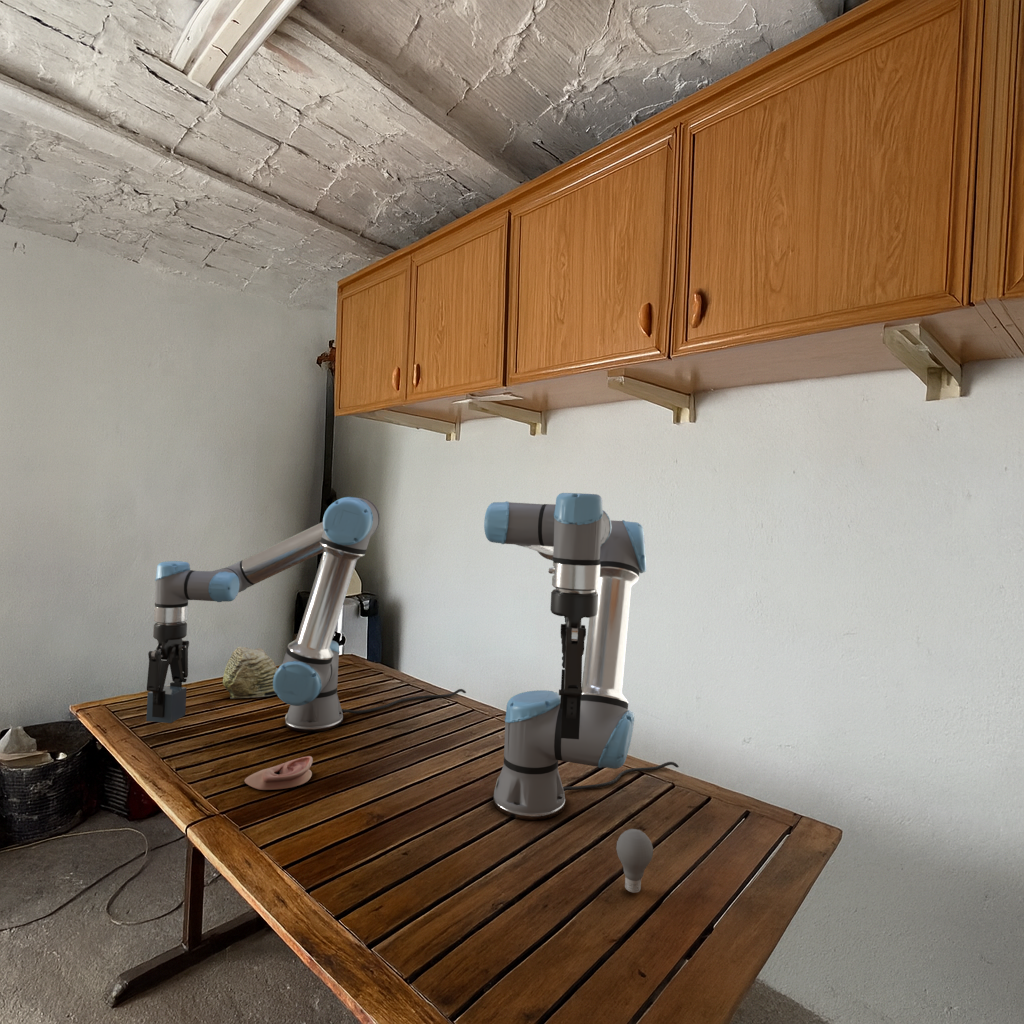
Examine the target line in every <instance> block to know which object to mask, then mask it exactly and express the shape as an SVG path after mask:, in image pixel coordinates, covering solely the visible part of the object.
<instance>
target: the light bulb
mask: <svg viewBox="0 0 1024 1024" xmlns="http://www.w3.org/2000/svg"><path fill="white" fill-rule="evenodd" d="M615 849H616V854H617V857H618V859H619V861H620V863H621V865H622V867H623V873H624V874H623V875H624V876H625V878H624V888H625V890H627V891H628V892H630V893H634V894H635V893H639V892H640V891H641V889H642V887H641V886H642V879H643V877H644V875H645V871H646V868H647V867H648V866H649V864H650V863H651V861H652V859H653V855H654V847H653V843H652V841H651V838H649V836H648V835H647V834H646V833H645V832H643V831H642V830H641V829H636V828H629V829H627V830H625V831H623V832H622V833H621V834H620V835H619V837H618V839H617V841H616V847H615Z"/></svg>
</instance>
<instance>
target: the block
mask: <svg viewBox="0 0 1024 1024" xmlns="http://www.w3.org/2000/svg"><path fill="white" fill-rule="evenodd" d="M187 690H188V689H187V687H185V686H182V687H173V686H170V685H164V689H163V691H165V713H164V717H163V718H160V717H152V709H153V703H152V702H153V692H152V691H147V699H146V720H145V721H146V722H152V723H163V724H172V723H174V722H175V721H177V720H179V719H181V718H183V717H185V716H186V711H187Z"/></svg>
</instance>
